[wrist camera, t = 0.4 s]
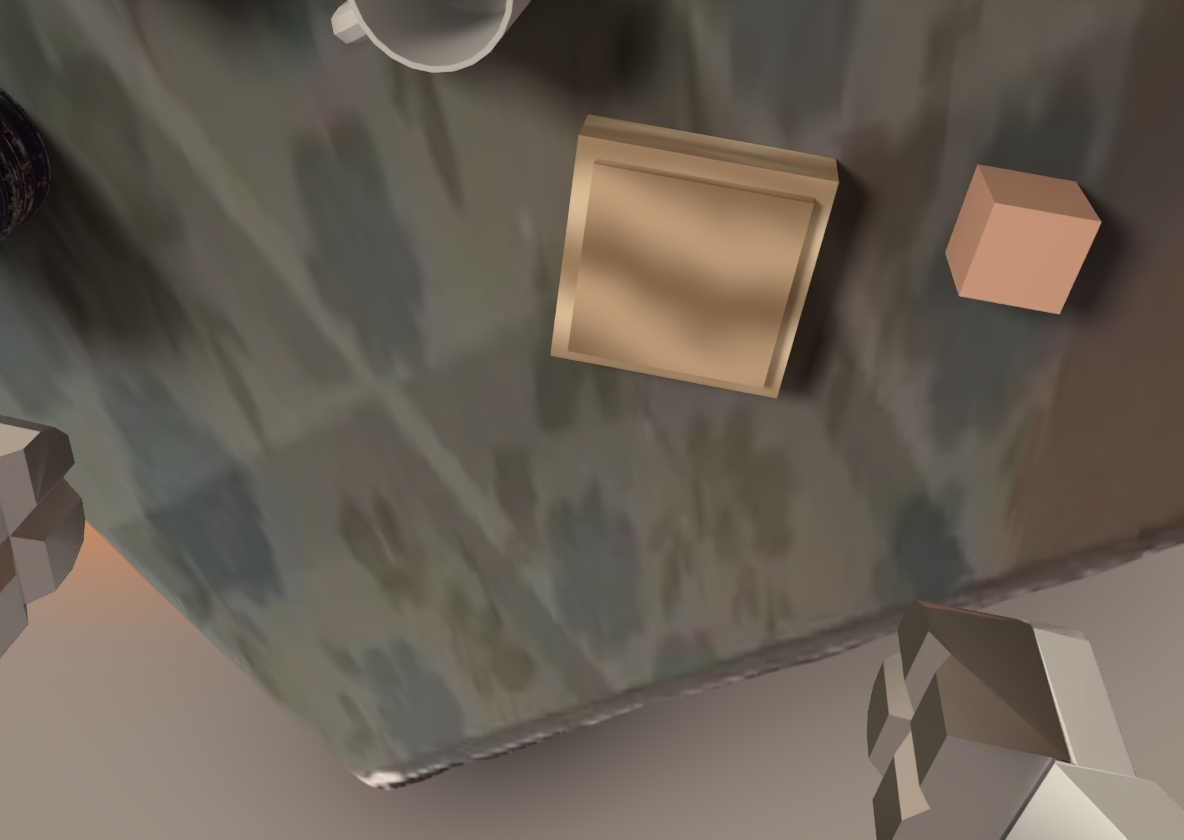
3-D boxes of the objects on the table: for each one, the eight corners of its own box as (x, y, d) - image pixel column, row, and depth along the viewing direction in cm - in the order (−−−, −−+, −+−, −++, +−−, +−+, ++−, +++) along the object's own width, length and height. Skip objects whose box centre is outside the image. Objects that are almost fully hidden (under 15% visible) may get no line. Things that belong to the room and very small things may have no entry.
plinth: (588, 114, 54) (576, 140, 51) (835, 158, 53) (839, 188, 50) (559, 327, 62) (548, 362, 58) (776, 368, 61) (776, 406, 58)
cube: (977, 163, 53) (994, 202, 49) (1075, 181, 53) (1101, 222, 48) (945, 251, 56) (958, 295, 52) (1038, 269, 55) (1059, 314, 51)
